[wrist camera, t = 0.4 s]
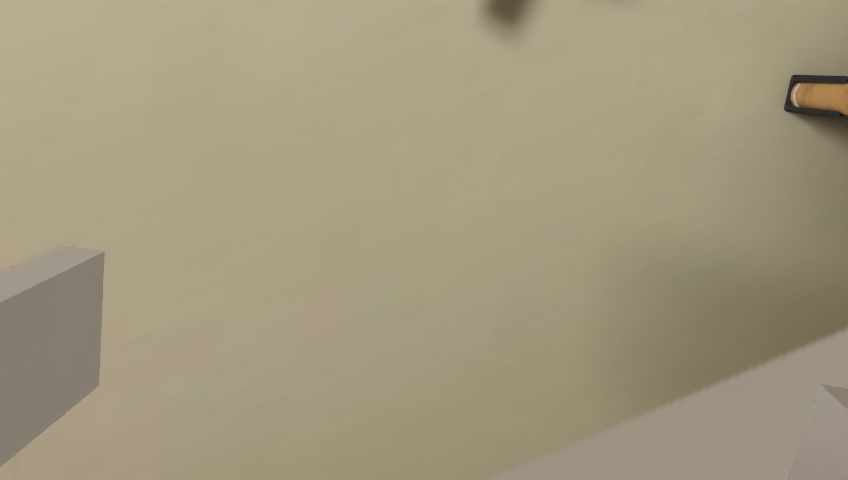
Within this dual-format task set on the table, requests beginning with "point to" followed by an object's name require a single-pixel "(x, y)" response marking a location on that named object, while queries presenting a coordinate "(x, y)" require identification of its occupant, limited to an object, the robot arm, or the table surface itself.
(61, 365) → the robot arm
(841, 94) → the ammunition clip
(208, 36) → the table surface
